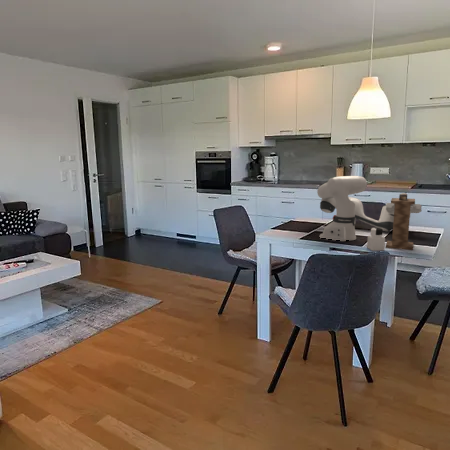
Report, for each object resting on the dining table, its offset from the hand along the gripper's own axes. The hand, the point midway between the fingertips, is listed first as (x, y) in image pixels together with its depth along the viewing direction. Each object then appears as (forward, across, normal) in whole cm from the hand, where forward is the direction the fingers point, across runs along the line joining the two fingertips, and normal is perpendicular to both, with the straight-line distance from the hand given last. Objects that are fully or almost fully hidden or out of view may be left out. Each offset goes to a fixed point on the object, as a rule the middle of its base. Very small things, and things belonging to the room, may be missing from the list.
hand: (403, 203), depth 235 cm
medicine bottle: (+17, +12, -35) cm, 41 cm away
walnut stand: (+7, 0, -30) cm, 30 cm away
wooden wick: (+15, 0, -3) cm, 16 cm away
